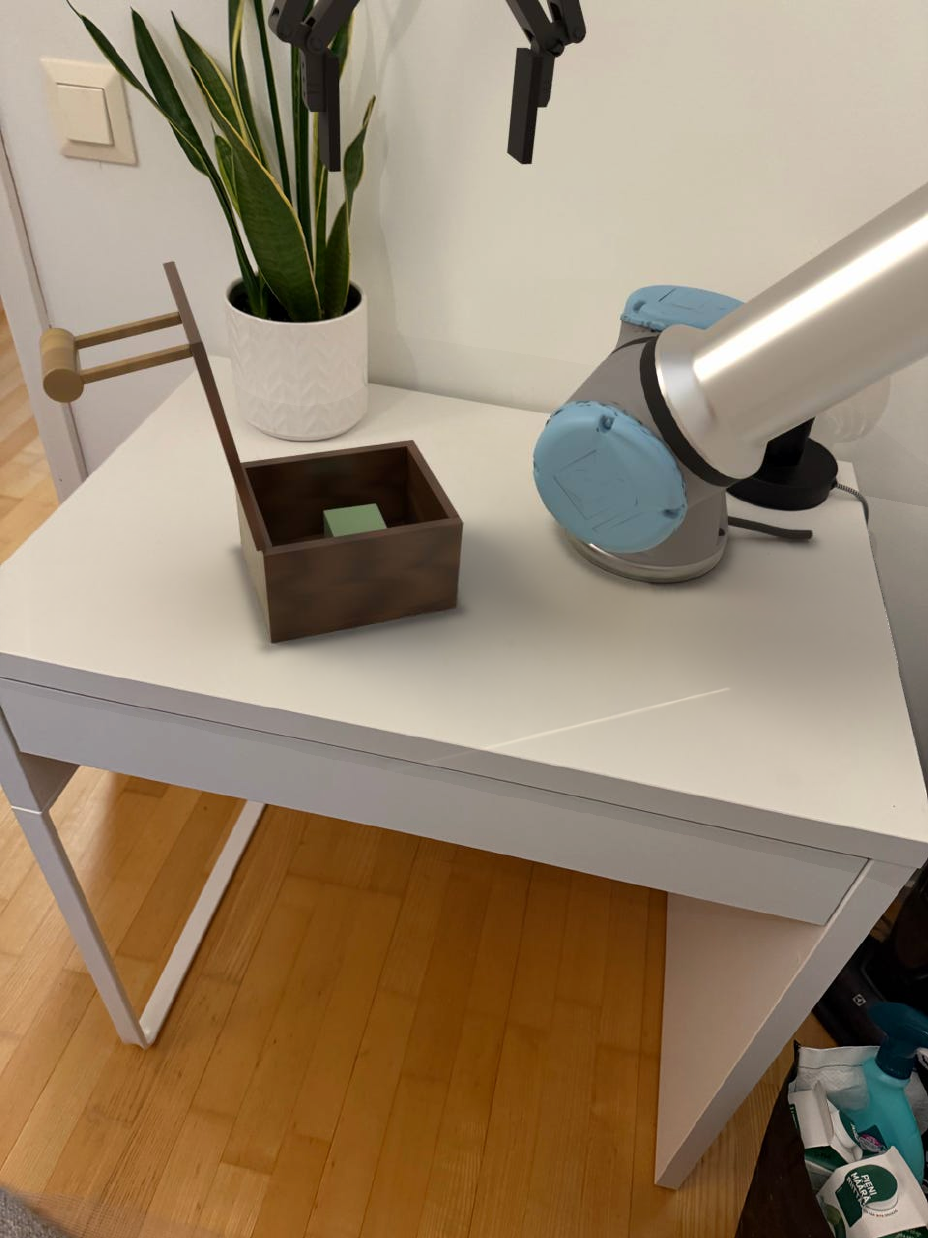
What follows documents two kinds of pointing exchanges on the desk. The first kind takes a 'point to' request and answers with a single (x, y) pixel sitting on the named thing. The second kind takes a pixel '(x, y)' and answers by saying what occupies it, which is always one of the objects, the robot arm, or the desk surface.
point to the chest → (349, 540)
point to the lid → (69, 379)
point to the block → (352, 520)
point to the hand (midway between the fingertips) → (427, 162)
